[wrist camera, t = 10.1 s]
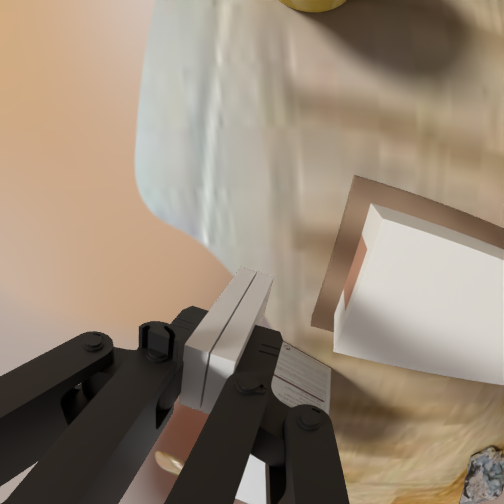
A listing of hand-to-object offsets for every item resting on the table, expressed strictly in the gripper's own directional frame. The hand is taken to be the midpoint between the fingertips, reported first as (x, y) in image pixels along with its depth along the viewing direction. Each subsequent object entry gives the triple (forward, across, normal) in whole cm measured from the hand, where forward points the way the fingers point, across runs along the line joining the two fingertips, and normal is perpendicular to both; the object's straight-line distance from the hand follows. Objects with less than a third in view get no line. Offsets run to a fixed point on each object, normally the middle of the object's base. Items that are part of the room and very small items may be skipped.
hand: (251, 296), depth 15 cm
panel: (+9, +14, 0) cm, 16 cm away
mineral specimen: (+11, +36, -24) cm, 45 cm away
